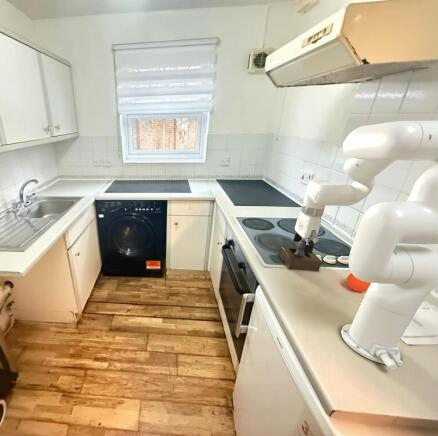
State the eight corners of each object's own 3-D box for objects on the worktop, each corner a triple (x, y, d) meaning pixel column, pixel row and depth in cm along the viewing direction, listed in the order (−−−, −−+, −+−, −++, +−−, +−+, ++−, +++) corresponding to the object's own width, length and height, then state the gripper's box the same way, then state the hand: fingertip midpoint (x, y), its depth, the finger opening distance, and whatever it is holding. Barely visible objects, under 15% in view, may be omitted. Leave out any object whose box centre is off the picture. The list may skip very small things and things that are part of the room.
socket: (318, 271, 100) (322, 261, 98) (288, 269, 102) (291, 259, 100) (305, 256, 111) (308, 247, 109) (278, 254, 113) (280, 245, 111)
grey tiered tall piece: (299, 258, 109) (306, 235, 105) (308, 266, 104) (315, 241, 99) (287, 259, 109) (293, 235, 104) (294, 266, 104) (301, 242, 99)
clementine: (342, 280, 95) (347, 265, 92) (364, 285, 92) (371, 270, 89) (345, 291, 89) (351, 275, 86) (369, 298, 85) (376, 282, 83)
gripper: (293, 203, 105) (285, 237, 112) (312, 217, 89) (301, 256, 96) (311, 203, 104) (302, 238, 111) (334, 219, 88) (321, 258, 95)
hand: (301, 246), depth 103 cm, fingers open, 9 cm apart
